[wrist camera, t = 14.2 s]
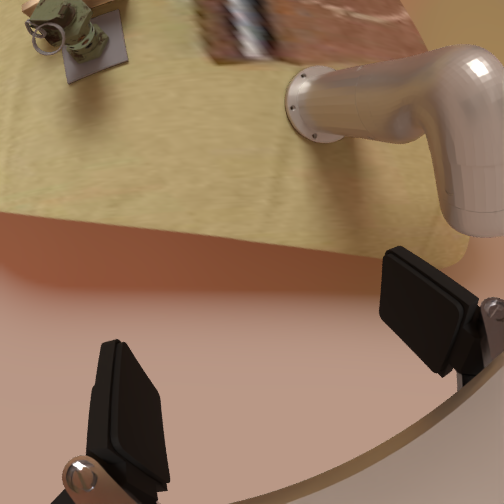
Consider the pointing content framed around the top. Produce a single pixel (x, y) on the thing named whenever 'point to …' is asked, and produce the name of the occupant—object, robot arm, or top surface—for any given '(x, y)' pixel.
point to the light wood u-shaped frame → (30, 6)
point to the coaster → (111, 53)
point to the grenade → (67, 29)
